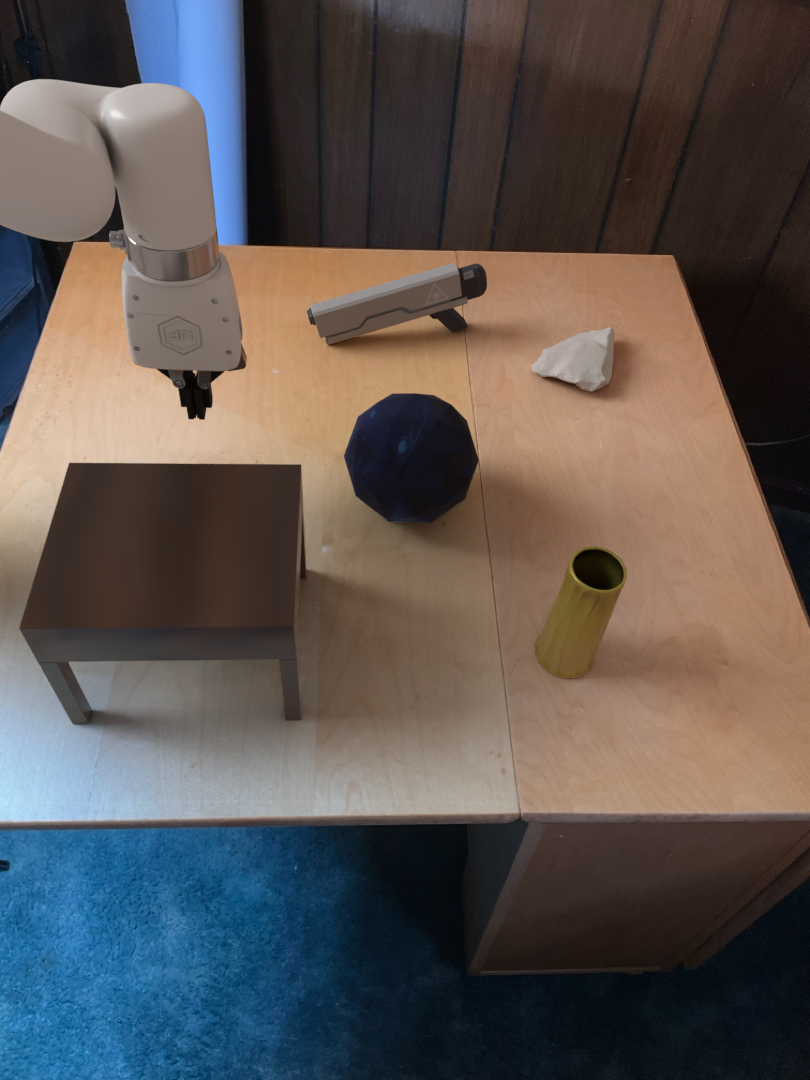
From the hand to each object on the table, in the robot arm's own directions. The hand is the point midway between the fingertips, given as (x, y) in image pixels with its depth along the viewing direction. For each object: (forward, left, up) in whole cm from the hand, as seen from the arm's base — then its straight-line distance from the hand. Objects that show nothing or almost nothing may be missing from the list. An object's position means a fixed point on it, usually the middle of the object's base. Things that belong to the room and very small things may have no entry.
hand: (198, 410), depth 83 cm
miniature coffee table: (0, -20, -13) cm, 24 cm away
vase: (+37, -22, -13) cm, 45 cm away
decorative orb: (+22, -1, -13) cm, 26 cm away
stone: (+48, +25, -13) cm, 56 cm away
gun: (+22, +31, -13) cm, 41 cm away
